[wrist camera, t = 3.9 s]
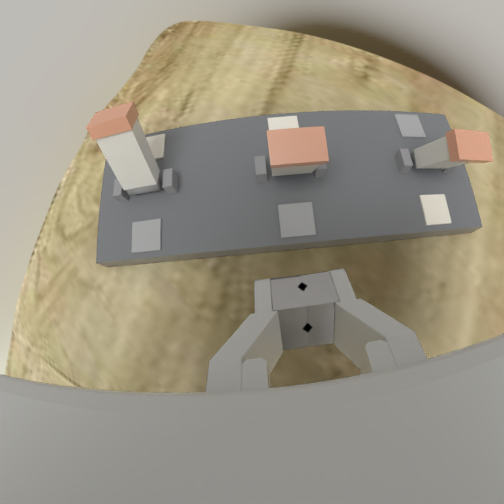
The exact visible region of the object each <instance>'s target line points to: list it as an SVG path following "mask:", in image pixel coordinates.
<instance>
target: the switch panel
mask: <svg viewBox="0 0 504 504" xmlns="http://www.w3.org/2000/svg"><path fill="white" fill-rule="evenodd" d="M319 126H324V128H325V135H326V142H327V149H328V157H329V161H328V162H327V163H326V164H320V165H319V166H318V167H317V168H316V169H315V170H314V171H313V172H312V173H304V174H292V175H281V176H272V169H271V166H270V157H269V148H268V140H267V130H276V129H288V128H302V127H319ZM450 130H451V128H450V126H449V124H448V121H447V119H446V117H445V115H442V114H431V113H418V112H401V111H318V112H300V113H286V114H274V115H263V116H254V117H245V118H237V119H230V120H223V121H216V122H209V123H203V124H197V125H191V126H186V127H180V128H175V129H170V130H165V131H160V132H156V133H151V134H147V135H145V137H146V139H147V142H148V144H149V146H150V149H151V151H152V154H153V156H154V158H155V160H156V163H157V165H158V167H159V170H160V173H159V174H160V176H161V179H162V189H161V190H160V191H154V192H148V193H142V194H136V195H131V196H130V195H128V193H127V191H126V190H123V188H122V186H121V185H120V183H119V181H118V179H117V178H116V176H115V174H114V172H113V170H112V169H111V167H110V165H109V163H108V161H107V160H106V162H105V168H104V176H103V183H102V192H101V201H100V211H99V223H98V237H97V258H96V263H98V264H101V265H103V266H106V267H114V266H125V265H136V264H147V263H158V262H169V261H179V260H190V259H201V258H212V257H222V256H233V255H244V254H254V253H265V252H276V251H286V250H297V249H307V248H318V247H329V246H339V245H350V244H360V243H371V242H381V241H391V240H402V239H412V238H423V237H433V236H443V235H454V234H464V233H472V232H474V231H475V230H477V229H479V228H481V227H482V224H481V220H480V216H479V212H478V208H477V204H476V201H475V197H474V194H473V190H472V187H471V184H470V180H469V177H468V174H467V171H466V168H465V165H464V164H463V165H458V166H454V167H449V168H445V169H442V168H413V167H412V166H413V163H412V160H411V157H410V155H411V153H412V152H414V149H416V148H419V147H421V146H423V145H426V144H428V143H430V142H433V141H435V140H438V139H440V138H442V137H445V136H446V132H448V131H450Z"/></svg>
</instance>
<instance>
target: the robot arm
mask: <svg viewBox="0 0 504 504" xmlns="http://www.w3.org/2000/svg"><path fill="white" fill-rule="evenodd" d="M254 295H255V313H254V314H250V315H249V316H248V317H247V318H246V320H245V321H244V322H243V323H242V324H241V325H240V327H239V328H238V329H237V330H236V331H235V332H234V333H233V335H232V336H231V337H230V338H229V339H228V340H227V342H226V343H225V344H224V345H223V346H222V347H221V348H220V349H219V351H218V352H217V353H216V354H215V355H214V356H213V357H212V359H211V360H210V361H209V369H208V377H207V386H206V392H194V393H159V392H130V391H113V390H100V389H90V388H80V387H71V386H63V385H56V384H49V383H43V382H37V381H31V380H25V379H20V378H15V377H11V376H7V375H0V504H504V333H503V334H501V335H498V336H496V337H493V338H490V339H488V340H485V341H482V342H479V343H476V344H474V345H471V346H468V347H465V348H462V349H459V350H456V351H452V352H449V353H446V354H443V355H439V356H436V357H432V358H429V359H427V357H426V355H425V353H424V351H423V348H422V346H421V344H420V342H419V340H418V338H417V336H416V334H415V332H414V331H413V330H411V329H410V328H408V327H406V326H405V325H403V324H402V323H400V322H398V321H397V320H395V319H393V318H392V317H390V316H389V315H387V314H385V313H384V312H382V311H380V310H379V309H377V308H376V307H374V306H372V305H371V304H369V303H367V302H366V301H364V300H363V299H357V298H356V296H355V293H354V291H353V288H352V286H351V283H350V281H349V279H348V276H347V274H346V271H345V270H344V269H343V268H342V269H336V270H331V271H328V272H321V273H314V274H307V275H297V276H288V277H279V278H270V279H262V280H255V283H254ZM332 343H334V345H335V346H336V347H337V348H338V349H339V350H340V351H341V352H342V353H343V354H344V355H345V356H346V357H348V358H349V359H350V360H351V361H352V362H353V363H354V364H355V365H356V366H357V367H358V368H359V369H360V370H361V371H360V375H356V376H351V377H346V378H340V379H334V380H328V381H322V382H315V383H308V384H301V385H293V386H284V387H275V388H272V385H271V380H270V374H271V372H272V370H273V369H274V367H275V365H276V364H277V362H278V360H279V358H280V357H281V355H282V353H283V350H289V349H295V348H302V347H308V346H316V345H324V344H332Z"/></svg>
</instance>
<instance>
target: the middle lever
mask: <svg viewBox="0 0 504 504" xmlns="http://www.w3.org/2000/svg"><path fill="white" fill-rule="evenodd" d="M267 140H268V148H269V157H270V166H271V169H272V176H281V175H292V174H304V173H312V172H313V171H314V170H315V169H316V168H317V167H318V166H319V165H320V164H326V163H327V162H328V161H329V157H328V149H327V142H326V135H325V128H324V126H319V127H302V128H288V129H276V130H267Z"/></svg>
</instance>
